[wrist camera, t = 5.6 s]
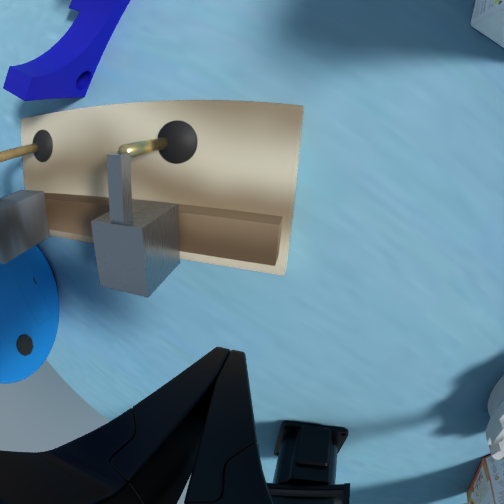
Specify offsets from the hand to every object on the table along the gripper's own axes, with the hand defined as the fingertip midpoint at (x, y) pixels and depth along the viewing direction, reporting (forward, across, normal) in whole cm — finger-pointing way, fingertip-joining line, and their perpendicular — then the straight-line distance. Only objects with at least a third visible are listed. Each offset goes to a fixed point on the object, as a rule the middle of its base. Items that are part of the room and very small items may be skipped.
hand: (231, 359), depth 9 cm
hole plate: (+12, +10, -2) cm, 16 cm away
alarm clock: (+12, +23, +8) cm, 27 cm away
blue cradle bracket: (+12, +14, -14) cm, 23 cm away
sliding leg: (+10, +7, -1) cm, 12 cm away
